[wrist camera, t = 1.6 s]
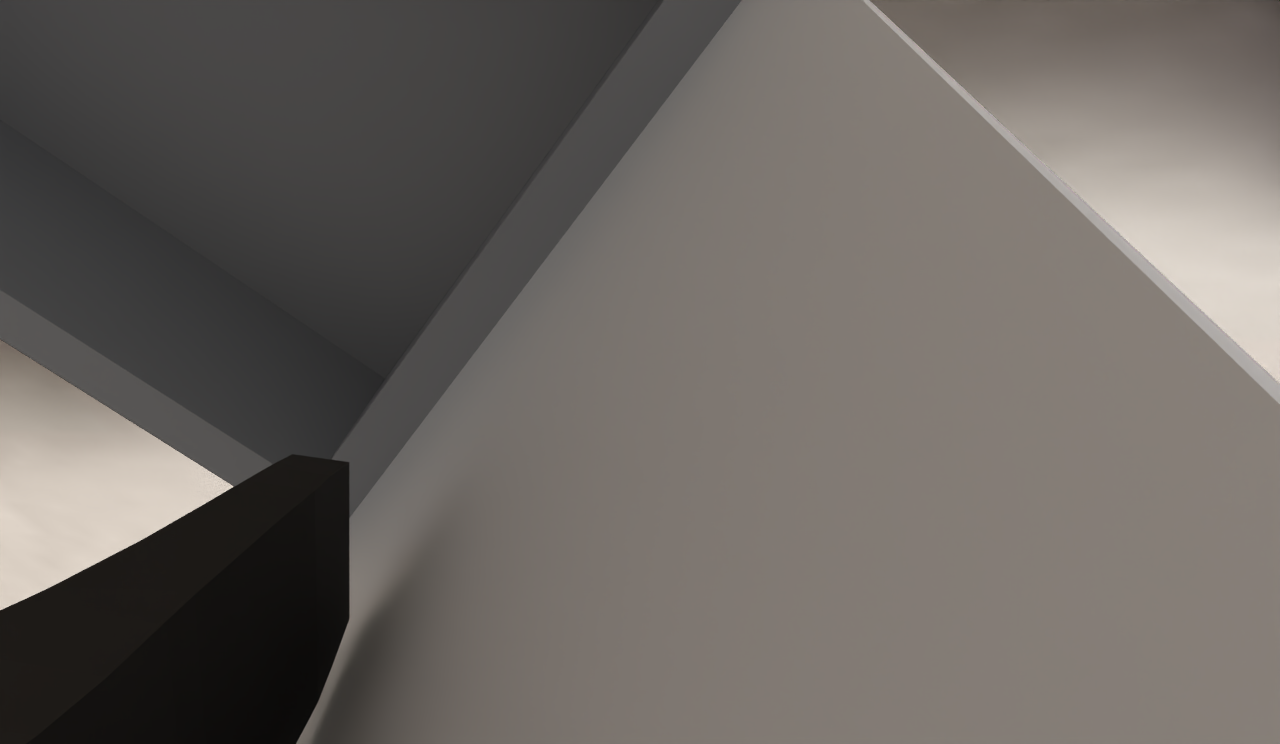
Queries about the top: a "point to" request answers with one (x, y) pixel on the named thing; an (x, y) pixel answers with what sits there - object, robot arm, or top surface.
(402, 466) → the lid
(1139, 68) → the top surface
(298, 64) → the box
